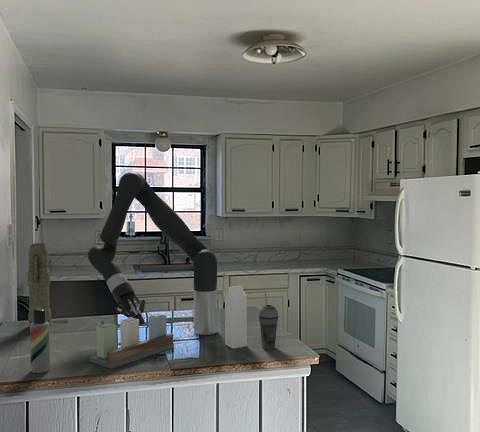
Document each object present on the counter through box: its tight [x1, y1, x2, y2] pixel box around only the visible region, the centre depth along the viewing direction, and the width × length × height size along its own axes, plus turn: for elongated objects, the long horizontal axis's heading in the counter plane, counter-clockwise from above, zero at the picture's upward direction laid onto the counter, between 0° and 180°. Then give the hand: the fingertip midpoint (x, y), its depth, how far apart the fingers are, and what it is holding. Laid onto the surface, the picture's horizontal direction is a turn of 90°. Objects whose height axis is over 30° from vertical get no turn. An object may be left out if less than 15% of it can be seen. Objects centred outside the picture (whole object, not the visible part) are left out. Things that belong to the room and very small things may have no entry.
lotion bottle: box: [29, 308, 51, 374], centre depth 161 cm, size 6×6×20 cm
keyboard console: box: [88, 332, 175, 370], centre depth 177 cm, size 12×28×5 cm, turn 142°
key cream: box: [119, 317, 140, 348], centre depth 178 cm, size 4×5×10 cm
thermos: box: [27, 242, 52, 329], centre depth 214 cm, size 9×12×35 cm
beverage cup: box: [258, 292, 279, 350], centre depth 184 cm, size 7×7×20 cm
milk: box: [224, 285, 248, 349], centre depth 187 cm, size 6×6×22 cm
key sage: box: [95, 323, 117, 359], centre depth 170 cm, size 4×5×10 cm
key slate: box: [148, 313, 168, 340], centre depth 184 cm, size 4×5×10 cm
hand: (142, 324), depth 189 cm, fingers closed
